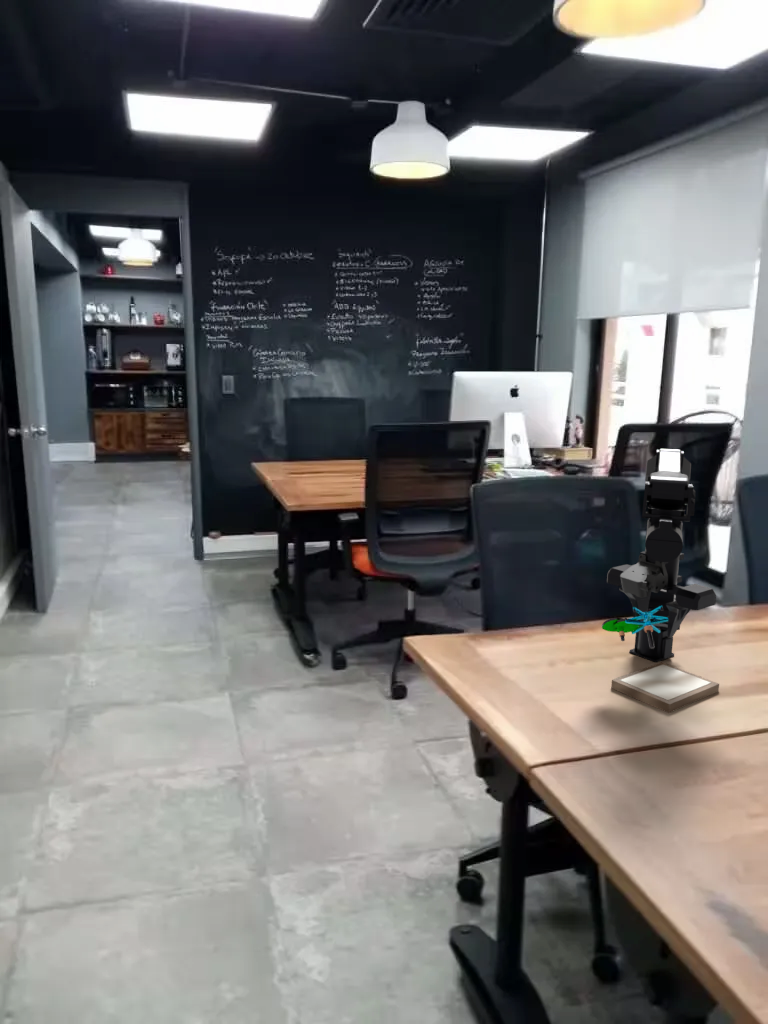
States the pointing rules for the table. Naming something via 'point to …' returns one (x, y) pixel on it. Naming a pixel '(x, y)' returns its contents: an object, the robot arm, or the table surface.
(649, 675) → the walnut framed pale panel
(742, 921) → the table surface
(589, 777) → the table surface
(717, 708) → the table surface
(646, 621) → the stick construction toy
